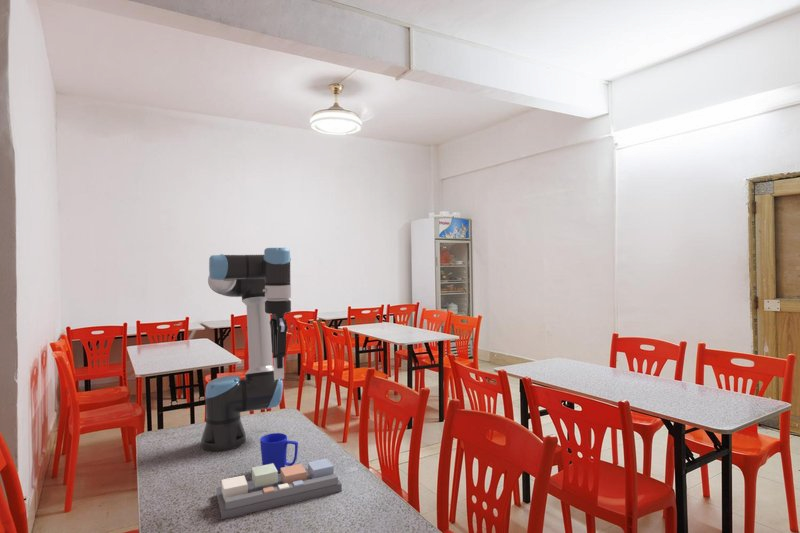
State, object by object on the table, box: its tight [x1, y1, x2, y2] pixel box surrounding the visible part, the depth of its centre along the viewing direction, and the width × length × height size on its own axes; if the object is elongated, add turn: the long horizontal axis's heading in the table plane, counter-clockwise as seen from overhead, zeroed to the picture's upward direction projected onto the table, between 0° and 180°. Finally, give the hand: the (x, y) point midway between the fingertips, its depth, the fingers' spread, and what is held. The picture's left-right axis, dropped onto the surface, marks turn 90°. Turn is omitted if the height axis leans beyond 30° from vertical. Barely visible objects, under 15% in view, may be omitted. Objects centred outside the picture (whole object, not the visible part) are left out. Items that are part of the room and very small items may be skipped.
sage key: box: [251, 463, 279, 487], centre depth 132 cm, size 6×6×3 cm
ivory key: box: [221, 475, 248, 501], centre depth 129 cm, size 6×6×3 cm
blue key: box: [307, 458, 335, 479], centre depth 139 cm, size 6×6×3 cm
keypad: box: [215, 468, 343, 520], centre depth 134 cm, size 14×32×4 cm, turn 116°
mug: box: [259, 432, 299, 473], centre depth 149 cm, size 8×12×10 cm
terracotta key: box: [280, 463, 307, 484], centre depth 136 cm, size 6×6×3 cm
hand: (279, 378), depth 142 cm, fingers closed
